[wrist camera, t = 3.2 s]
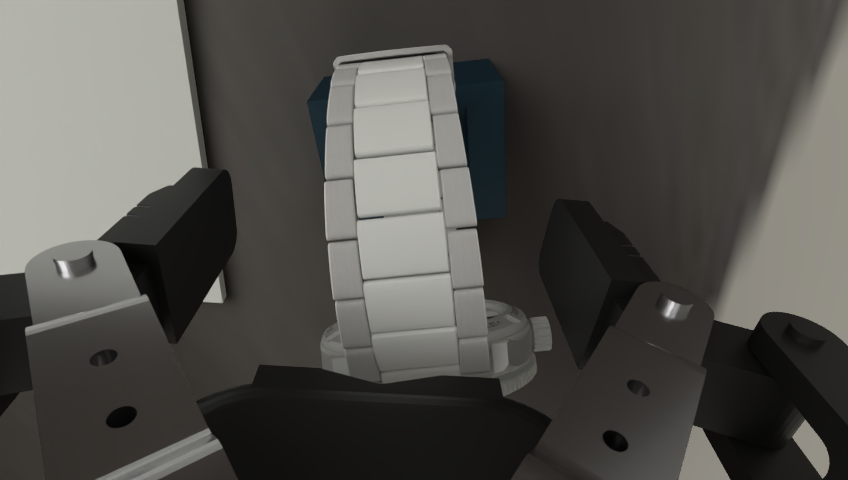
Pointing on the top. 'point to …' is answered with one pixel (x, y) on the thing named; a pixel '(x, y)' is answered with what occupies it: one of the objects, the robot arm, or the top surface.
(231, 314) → the top surface
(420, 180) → the watch
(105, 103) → the mat
